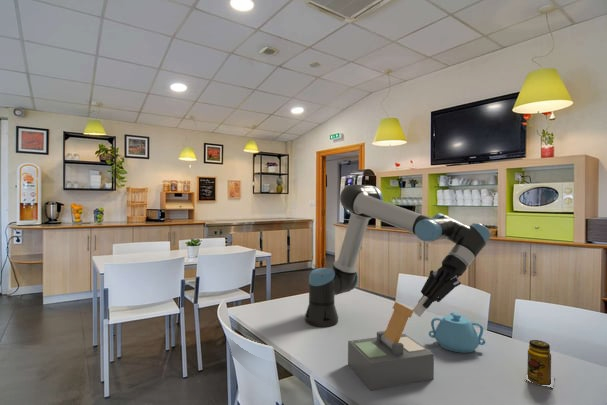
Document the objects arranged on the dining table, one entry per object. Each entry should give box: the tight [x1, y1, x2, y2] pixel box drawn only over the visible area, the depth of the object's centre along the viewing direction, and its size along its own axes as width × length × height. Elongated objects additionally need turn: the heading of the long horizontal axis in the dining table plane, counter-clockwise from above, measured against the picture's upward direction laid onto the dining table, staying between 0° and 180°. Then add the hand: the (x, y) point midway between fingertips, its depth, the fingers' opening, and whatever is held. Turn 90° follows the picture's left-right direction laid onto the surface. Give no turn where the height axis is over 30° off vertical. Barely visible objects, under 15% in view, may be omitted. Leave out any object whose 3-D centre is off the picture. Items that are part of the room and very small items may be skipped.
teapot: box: [428, 312, 486, 354], centre depth 130 cm, size 20×20×13 cm
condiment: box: [524, 339, 552, 389], centre depth 105 cm, size 7×8×12 cm
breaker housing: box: [347, 330, 435, 391], centre depth 110 cm, size 22×16×11 cm
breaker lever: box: [381, 301, 414, 349], centre depth 110 cm, size 3×7×14 cm, turn 18°
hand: (416, 313), depth 112 cm, fingers closed
